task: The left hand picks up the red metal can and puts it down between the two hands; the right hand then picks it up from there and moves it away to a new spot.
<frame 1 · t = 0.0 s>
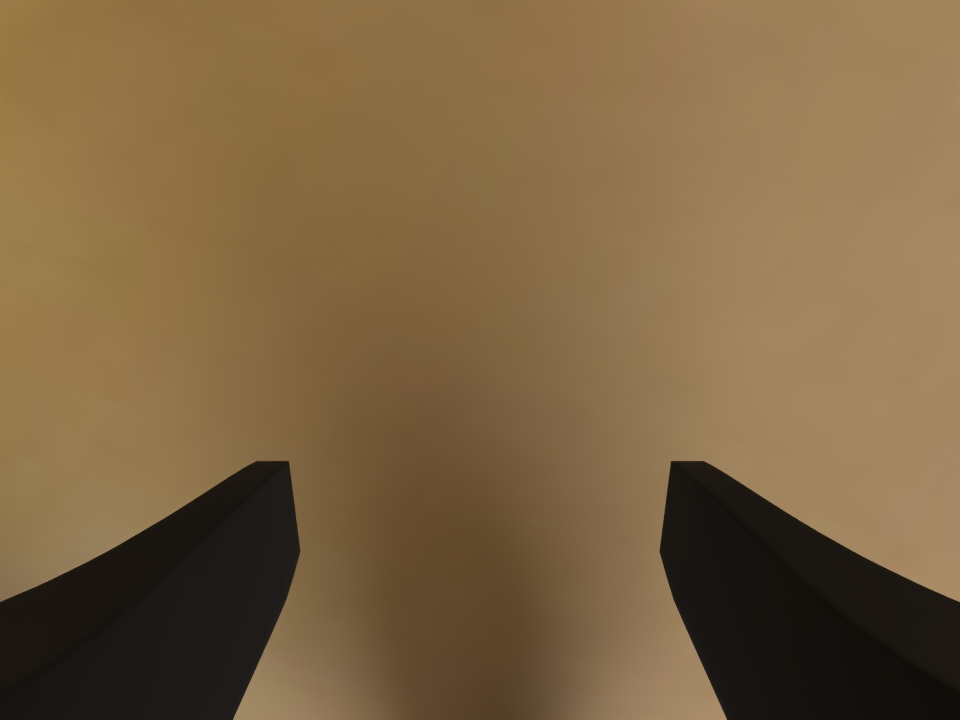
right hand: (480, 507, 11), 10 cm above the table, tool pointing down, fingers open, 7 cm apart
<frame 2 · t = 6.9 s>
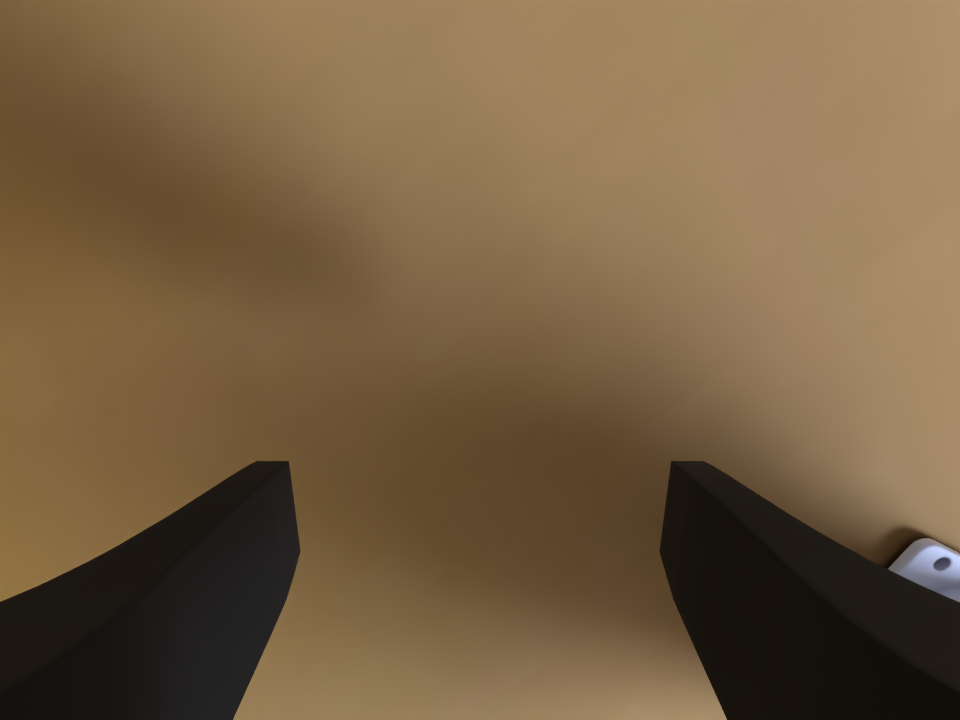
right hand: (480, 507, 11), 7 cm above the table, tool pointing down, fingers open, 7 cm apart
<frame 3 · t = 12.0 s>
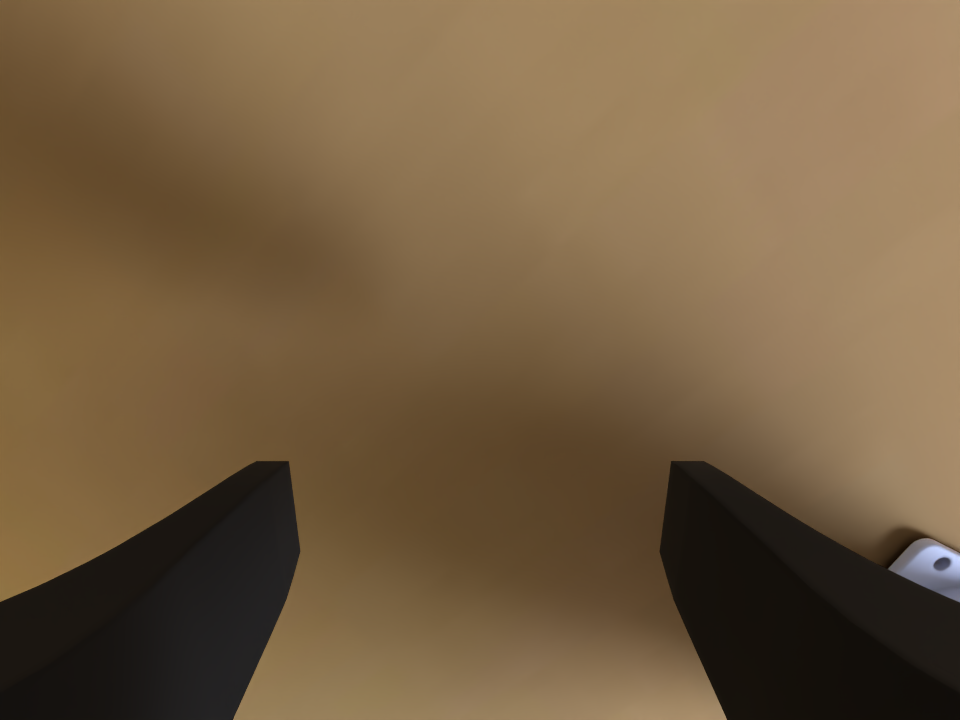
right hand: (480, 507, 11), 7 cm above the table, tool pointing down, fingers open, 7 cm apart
when the left hand's fingers open (1 cm above the table, at t = 17.2 s): can stays where it is, on the table.
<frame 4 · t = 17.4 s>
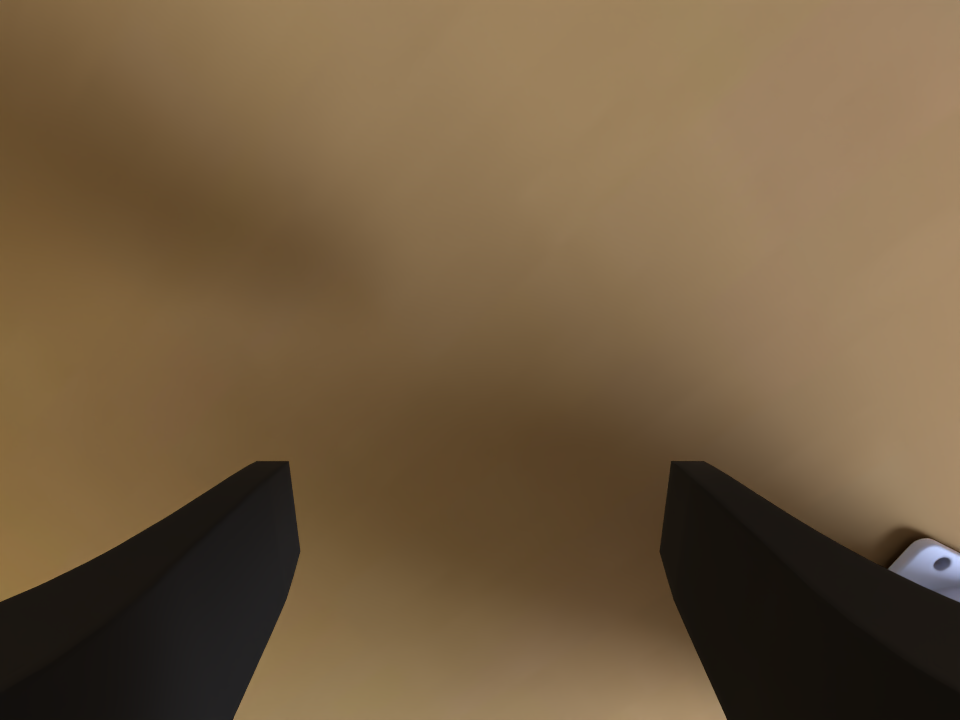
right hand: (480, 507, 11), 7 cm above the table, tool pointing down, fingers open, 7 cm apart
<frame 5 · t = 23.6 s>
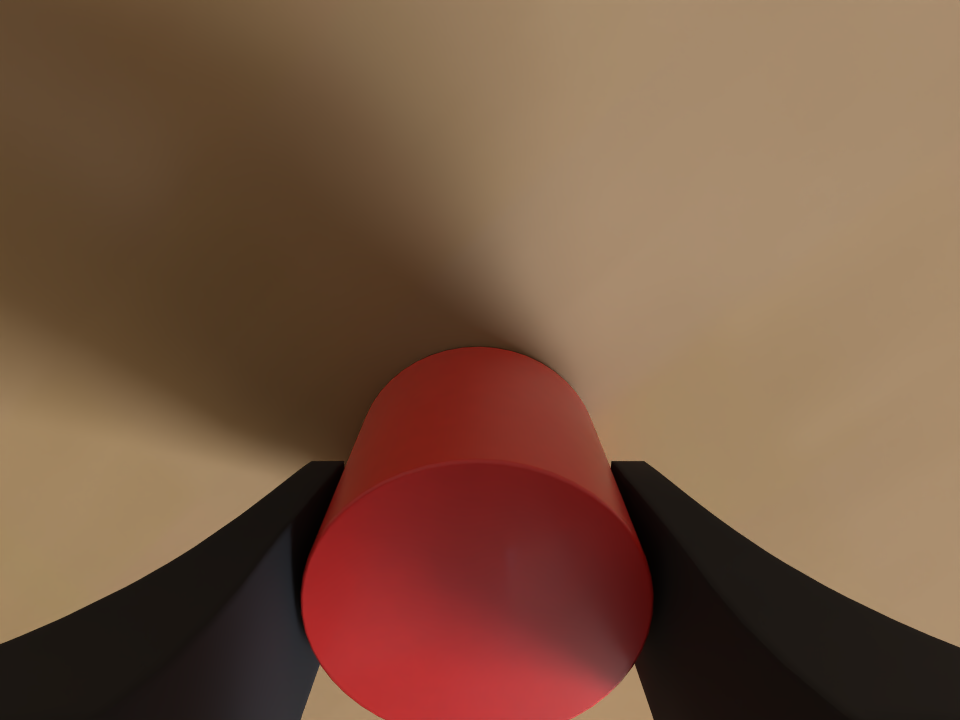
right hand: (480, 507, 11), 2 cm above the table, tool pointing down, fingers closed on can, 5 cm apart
can: (477, 457, 13), on the table, touching right hand
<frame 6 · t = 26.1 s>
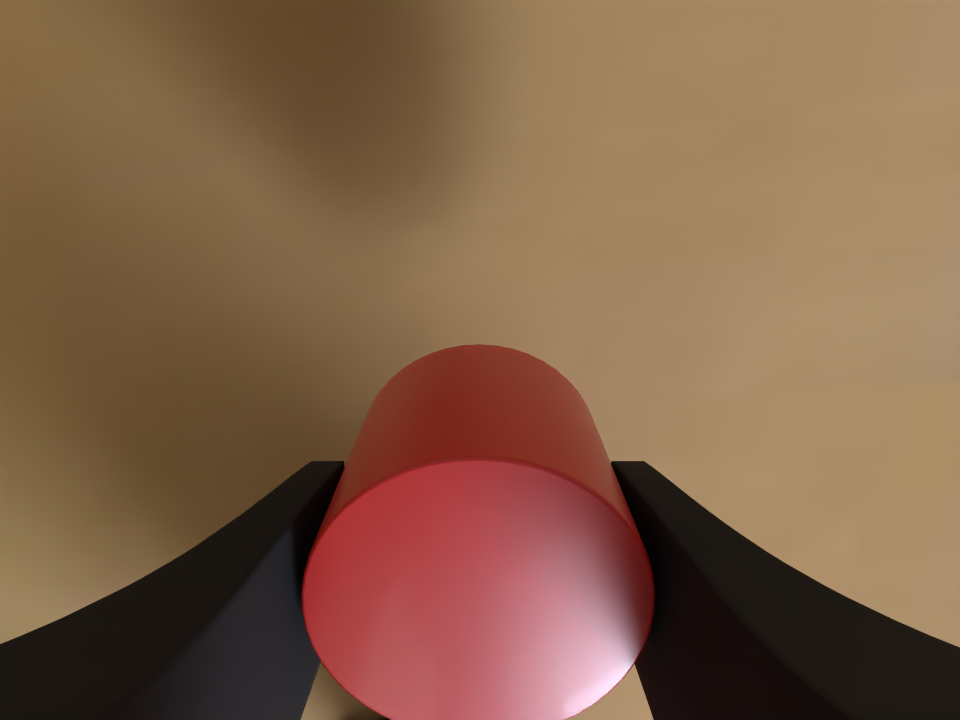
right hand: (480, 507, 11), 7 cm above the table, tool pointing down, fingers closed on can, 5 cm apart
can: (478, 455, 13), point 6 cm above the table, touching right hand
when the right hand's fingers open (2 cm above the table, at t = 29.0 s): can stays where it is, on the table.
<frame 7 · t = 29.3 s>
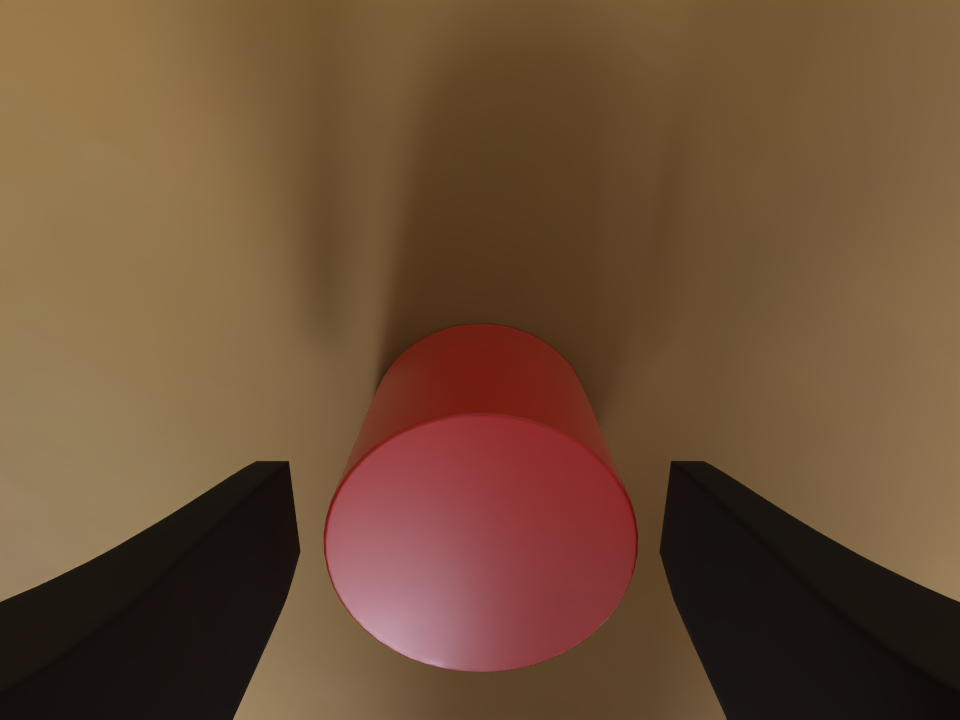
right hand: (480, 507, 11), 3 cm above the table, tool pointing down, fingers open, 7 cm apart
can: (480, 427, 14), on the table
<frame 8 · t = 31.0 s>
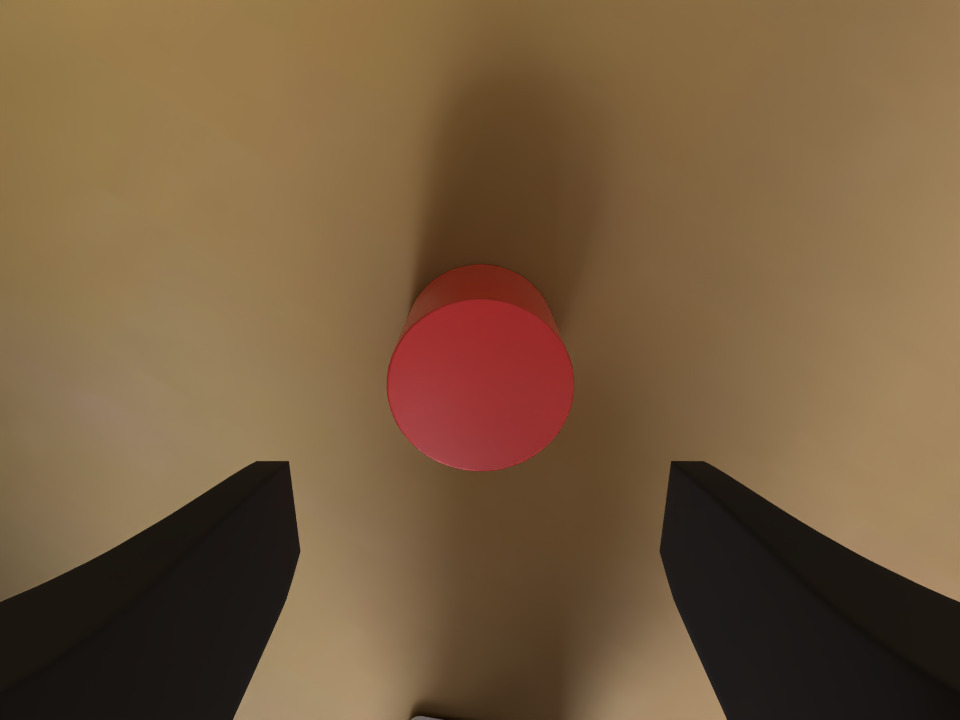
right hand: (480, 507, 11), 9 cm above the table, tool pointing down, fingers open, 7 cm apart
can: (480, 337, 20), on the table
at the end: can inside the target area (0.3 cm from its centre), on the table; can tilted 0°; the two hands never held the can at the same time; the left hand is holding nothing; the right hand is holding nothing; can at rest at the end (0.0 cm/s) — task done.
